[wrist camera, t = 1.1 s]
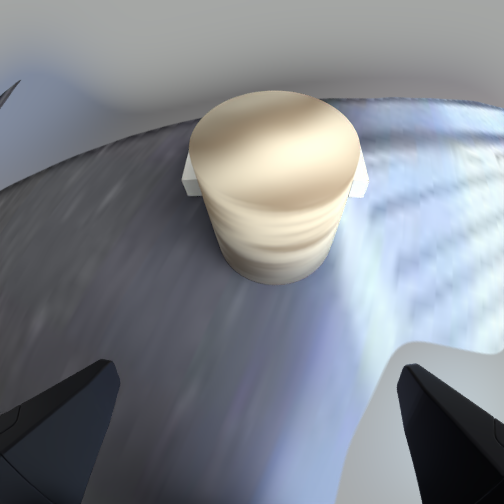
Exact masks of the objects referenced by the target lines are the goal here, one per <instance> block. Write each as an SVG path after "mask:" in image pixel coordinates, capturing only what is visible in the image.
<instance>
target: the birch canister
mask: <svg viewBox="0 0 504 504" xmlns="http://www.w3.org/2000/svg"><path fill="white" fill-rule="evenodd" d="M189 155H190V159H191V163H192V166H193V169H194V172H195V175H196V178H197V181H198V184H199V187H200V190H201V193H202V196H203V199H204V202H205V205H206V208H207V211H208V214H209V217H210V220H211V223H212V226H213V229H214V232H215V235H216V237H217V240H218V243H219V246H220V249H221V251H222V254H223V256H224V258H225V259H226V261H227V262H228V264H229V265H230V266H231V267H232V268H233V269H234V270H235V271H236V272H237V273H239V274H240V275H242V276H243V277H245V278H247V279H249V280H251V281H254V282H257V283H261V284H266V285H285V284H290V283H294V282H297V281H300V280H302V279H304V278H306V277H308V276H309V275H311V274H312V273H313V272H315V271H316V270H317V269H318V268H319V267H320V266H321V265H322V263H323V262H324V260H325V259H326V257H327V255H328V253H329V251H330V248H331V245H332V242H333V239H334V236H335V234H336V231H337V228H338V225H339V222H340V219H341V216H342V213H343V210H344V207H345V204H346V201H347V197H348V194H349V191H350V188H351V185H352V181H353V178H354V175H355V172H356V168H357V165H358V161H359V157H360V143H359V138H358V135H357V133H356V131H355V129H354V127H353V126H352V124H351V123H350V122H349V120H348V119H347V118H346V117H345V116H344V115H343V114H342V113H341V112H339V111H338V110H337V109H335V108H334V107H332V106H331V105H329V104H327V103H325V102H323V101H321V100H319V99H316V98H314V97H311V96H308V95H304V94H300V93H295V92H288V91H260V92H254V93H248V94H245V95H241V96H237V97H235V98H232V99H230V100H227V101H225V102H223V103H221V104H220V105H218V106H216V107H215V108H213V109H212V110H211V111H209V112H208V113H207V114H206V115H205V116H204V117H203V118H202V119H201V120H200V121H199V123H198V124H197V125H196V127H195V129H194V130H193V133H192V135H191V138H190V143H189Z"/></svg>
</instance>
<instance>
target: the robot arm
mask: <svg viewBox="0 0 504 504" xmlns="http://www.w3.org/2000/svg"><path fill="white" fill-rule="evenodd" d="M119 387H120V378H119V375H118V373H117V370H116V368H115V365H114V363H113V362H112V361H111V360H105V359H100V360H98V361H96V362H95V363H93V364H91V365H89V366H88V367H86V368H84V369H83V370H81V371H79V372H77V373H76V374H74V375H72V376H70V377H69V378H67V379H65V380H63V381H62V382H60V383H58V384H56V385H55V386H53V387H51V388H49V389H48V390H46V391H44V392H42V393H40V394H39V395H37V396H35V397H33V398H32V399H30V400H28V401H26V402H24V403H23V404H21V405H19V406H17V407H15V408H14V409H12V410H10V411H8V412H6V413H4V414H2V415H0V504H81V502H82V499H83V495H84V492H85V489H86V486H87V483H88V481H89V478H90V475H91V472H92V469H93V466H94V463H95V461H96V458H97V455H98V452H99V450H100V447H101V444H102V442H103V439H104V436H105V434H106V431H107V429H108V426H109V423H110V420H111V416H112V413H113V409H114V405H115V402H116V398H117V394H118V391H119ZM397 393H398V398H399V403H400V409H401V415H402V420H403V426H404V431H405V435H406V439H407V442H408V446H409V450H410V454H411V457H412V461H413V465H414V469H415V473H416V477H417V482H418V486H419V490H420V495H421V500H422V504H504V424H503V423H502V422H500V421H499V420H497V419H496V418H494V417H493V416H491V415H490V414H489V413H487V412H486V411H484V410H483V409H482V408H480V407H479V406H477V405H476V404H474V403H473V402H471V401H470V400H469V399H467V398H466V397H464V396H463V395H461V394H460V393H459V392H457V391H456V390H454V389H453V388H452V387H450V386H449V385H447V384H446V383H444V382H443V381H441V380H440V379H438V378H437V377H436V376H434V375H433V374H431V373H430V372H428V371H427V370H426V369H424V368H423V367H421V366H420V365H418V364H408V365H405V366H404V368H403V369H402V372H401V375H400V378H399V381H398V384H397Z"/></svg>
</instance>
